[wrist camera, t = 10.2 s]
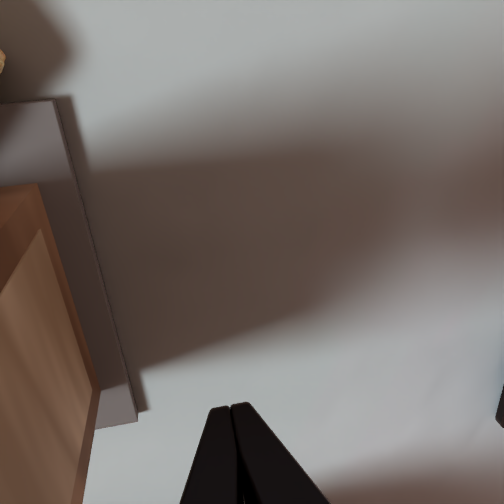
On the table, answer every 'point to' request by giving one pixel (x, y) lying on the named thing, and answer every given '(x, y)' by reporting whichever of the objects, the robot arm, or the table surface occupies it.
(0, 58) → the shard
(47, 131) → the mat
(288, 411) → the table surface
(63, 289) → the slab
